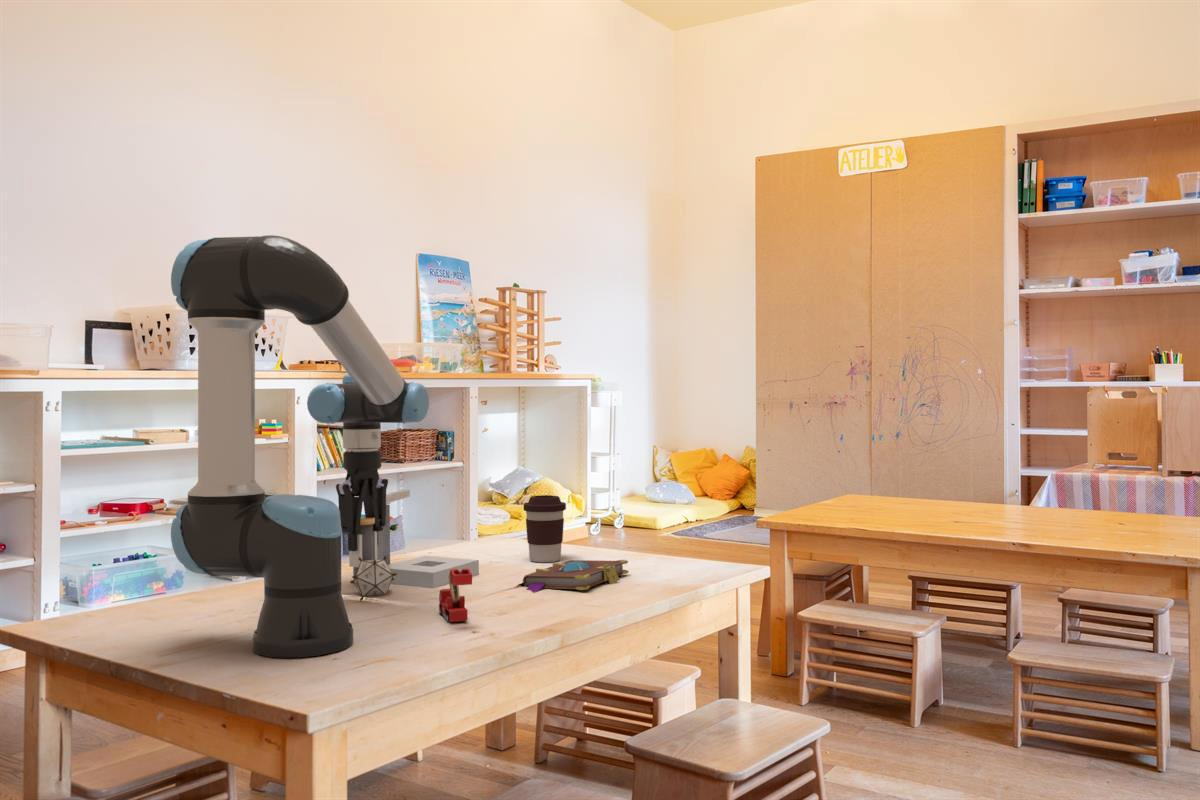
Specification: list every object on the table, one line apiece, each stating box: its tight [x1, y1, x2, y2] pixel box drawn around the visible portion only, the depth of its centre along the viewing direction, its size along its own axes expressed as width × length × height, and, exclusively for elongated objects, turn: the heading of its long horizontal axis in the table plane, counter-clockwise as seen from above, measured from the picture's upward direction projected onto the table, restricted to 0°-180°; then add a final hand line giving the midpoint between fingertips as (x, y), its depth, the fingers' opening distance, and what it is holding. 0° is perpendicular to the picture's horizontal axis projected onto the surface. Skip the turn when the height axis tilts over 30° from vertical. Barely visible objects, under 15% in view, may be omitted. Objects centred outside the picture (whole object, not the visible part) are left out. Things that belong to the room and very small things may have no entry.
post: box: [377, 504, 391, 565], centre depth 212 cm, size 5×5×16 cm
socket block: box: [388, 555, 480, 589], centre depth 206 cm, size 16×14×4 cm
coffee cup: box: [523, 494, 567, 563], centre depth 233 cm, size 10×10×15 cm
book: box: [522, 559, 629, 594], centre depth 205 cm, size 16×25×5 cm, turn 154°
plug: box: [352, 516, 375, 585], centre depth 201 cm, size 5×5×14 cm
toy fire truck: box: [438, 568, 473, 623], centre depth 173 cm, size 3×14×10 cm, turn 21°
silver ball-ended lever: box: [386, 489, 411, 505], centre depth 218 cm, size 3×16×2 cm, turn 170°
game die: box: [350, 556, 397, 602], centre depth 191 cm, size 9×8×10 cm
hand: (363, 564), depth 201 cm, fingers closed on plug, 4 cm apart
